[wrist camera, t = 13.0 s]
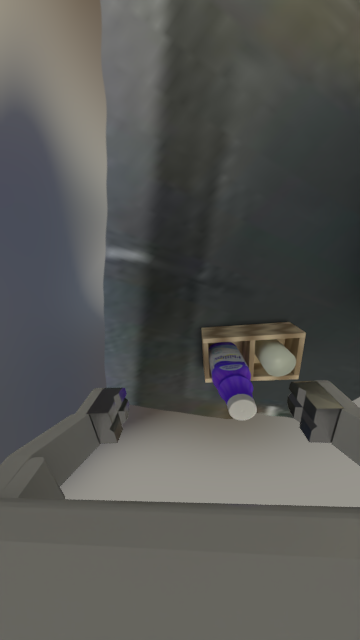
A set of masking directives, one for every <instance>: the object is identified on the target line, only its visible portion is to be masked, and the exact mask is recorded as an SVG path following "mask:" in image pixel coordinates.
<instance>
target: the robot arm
mask: <svg viewBox="0 0 360 640" xmlns="http://www.w3.org/2000/svg"><path fill="white" fill-rule="evenodd" d="M289 389H290V391H291V392H292V393H291V394H290V395H289V396H288V400H287V403H288V408H289V410H290V413H291V414H292V416H293V418H294V419H296V420H297V421H299V422H300V429H301V430H302V432H303V433H304V435H305V436H306V438H307V439H308V441H309V442H323V443H324V442H325V443H332V444H333V445H334V446H335V447H336V448H338V449H339V450H340V451H341V452H343V453H344V454H345V455H347V456H348V457H349V458H350V459H352V460H353V461H354V462H355V463H357V464H358V465H359V466H360V408H359V407H358V406H357V405H356V404H355V403H353V402H352V401H351V400H350V399H349V398H348V397H347V396H346V395H344V394H343V393H342V392H341V391H340V390H339V389H338V388H336V387H335V386H334V385H333V384H332V383H331V382H329V381H327V380H318V381H300V382H291V383H290V385H289ZM125 396H126V391H125V388H95V389H94V390H92V392H91V393H90V395H89V396H88V397H87V399H86V400H85V401H84V403H83V404H82V405H81V407H80V408H79V409H78V411H77V412H76V413H75V414H74V415H70V416H69V417H67V418H66V419H64V420H62V421H61V422H60V423H58V424H56V425H55V426H53V427H52V428H50V429H49V430H47V431H46V432H44V433H43V434H41V435H40V436H38V437H37V438H35V439H34V440H32V441H31V442H29V443H27V444H26V445H25V446H23V447H22V448H20V449H18V450H17V451H16V452H14V453H13V454H11V455H9V456H8V457H7V458H6V460H4V462H3V463H2V464H1V465H0V640H360V507H327V506H291V505H256V504H255V505H254V504H219V503H180V502H179V503H178V502H177V503H176V502H142V501H105V500H68V499H65V496H64V494H63V492H62V490H61V489H60V486H61V485H62V484H63V483H64V482H65V481H66V479H68V477H69V476H71V474H72V473H73V472H74V471H75V470H76V469H77V468H78V467H79V466H80V465H81V464H82V463H83V462H84V461H85V460H86V459H87V457H88V456H90V454H91V453H92V452H93V451H94V450H95V449H96V448H97V447H98V446H99V445H100V444H103V443H104V444H105V443H118V440H119V438H120V435H121V433H122V430H123V428H122V424H123V423H124V422H126V420H127V418H128V414H129V402H128V400H127V399H126V398H125Z"/></svg>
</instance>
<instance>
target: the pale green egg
mask: <svg viewBox="0 0 360 640" xmlns="http://www.w3.org/2000/svg"><path fill="white" fill-rule="evenodd" d="M255 355H256V357H257V358H258V360H259V361H260V363H261V364H262V366H263V368H264V369H265V371H266V372H267V373H268V374H270V375H272V376H276V377H279V376H284V375H287V374H289V373H290V372H291V371H292V370H293V369H294V367H295V365H296V358H295V356H294V355H293V354H292V353H291V352H290V351H289V350H288V349H287V348H286V347H285V346H283V345H282V344H281V343H280V342H279V341H278V340H277V339H270V340H255Z"/></svg>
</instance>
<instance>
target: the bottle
mask: <svg viewBox="0 0 360 640" xmlns="http://www.w3.org/2000/svg"><path fill="white" fill-rule="evenodd" d="M208 354H209V364H210V369H211V375H212V381H213V383H214V385H215V387H216V388H217V389H218V392H219V394H220V396H221V398H222V399H223V400H225V401H226V404H227V407H228V410H229V414H230V415H231V416H232V417H233V418H234V419H237V420H248V419H250V418H252V417H253V416H254V415H255V414H256V411H257V408H256V405H255V402H254V400H253V397H252V392H253V385H252V383H251V382H250V379H251V373H250V371H249V368H248V366H247V364H246V362H245V360H244V358H243V356H242V355H241V353H240V351H239V349H238V348H237V346H236V345H235V344H233V343H231V342H218V343H215V344H212V345H211V346H210V347H209V349H208Z"/></svg>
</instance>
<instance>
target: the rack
mask: <svg viewBox="0 0 360 640" xmlns="http://www.w3.org/2000/svg"><path fill="white" fill-rule="evenodd" d="M201 331H202V348H203V365H204V374H205V382H213V381H212V375H211V369H210V364H209V354H208V349H209V347H210V346H211V345H212V344H215V343H218V342H231V343H233V344H235V345H236V346H237V348H238V349H239V351H240V353H241V355H242V356H243V358H244V360H245V362H246V364H247V366H248V368H249V371H250V373H251V379H250V381H259V380H287V379H298V378H299V372H300V366H301V360H302V354H303V348H304V342H305V335H306V333H305V332H304V331H302V330H301V329H299V328H298V327H296V326H295V325H293V324H292V323H290V322H281V323H266V324H251V325H236V326H220V327H205V328H201ZM270 339H277V340H278V341H279V342H280V343H281V344H282V345H283V346H285V347H286V348H287V349H288V350H289V351H290V352H291V353H292V354H293V355H294V356H295V358H296V365H295V367H294V369H293V370H292V371H291V372H290V373H289V374H287V375H284V376H279V377H276V376H272V375H270V374H268V373H267V372H266V371H265V369H264V368H263V366H262V364H261V363H260V361H259V360H258V358H257V357H256V355H255V340H270Z"/></svg>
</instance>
